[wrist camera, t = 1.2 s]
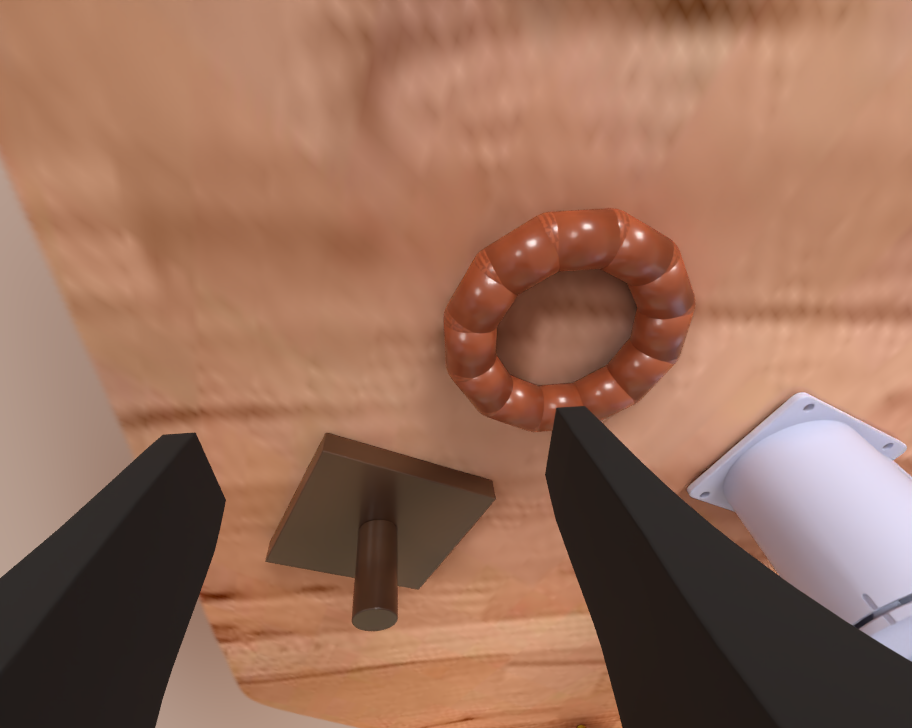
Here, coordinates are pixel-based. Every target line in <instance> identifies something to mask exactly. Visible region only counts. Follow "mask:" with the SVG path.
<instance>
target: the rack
mask: <svg viewBox="0 0 912 728" xmlns="http://www.w3.org/2000/svg"><path fill="white" fill-rule="evenodd" d="M495 499H496V496H495V492H494V487H493V482H492V481H491V480H488V479H484V478H481V477H477V476H474V475H470V474H467V473H464V472H460V471H457V470H453V469H450V468H446V467H443V466H439V465H436V464H433V463H429V462H426V461H422V460H419V459H415V458H412V457H408V456H405V455H402V454H398V453H395V452H391V451H388V450H384V449H381V448H377V447H374V446H371V445H367V444H364V443H360V442H357V441H353V440H350V439H346V438H343V437H340V436H336V435H333V434H329V433H326V434H325V435H324V437H323V439H322V441H321V443H320V445H319V447H318V449H317V451H316V453H315V455H314V457H313V459H312V461H311V463H310V465H309V467H308V469H307V471H306V473H305V475H304V477H303V479H302V481H301V483H300V484H299V486H298V488H297V490H296V492H295V494H294V496H293V498H292V500H291V502H290V504H289V506H288V508H287V510H286V512H285V514H284V516H283V518H282V520H281V522H280V524H279V526H278V528H277V530H276V532H275V533H274V535H273V537H272V539H271V541H270V544H269V548H268V552H267V556H266V562H269V563H275V564H280V565H286V566H291V567H297V568H302V569H308V570H313V571H319V572H324V573H330V574H335V575H341V576H346V577H352V578H355V582H354V596H353V609H352V624H353V625H354V626H355V627H356V628H358V629H361V630H364V631H380V630H384V629H387V628H390V627H392V626H393V625H394V624H395V623H396V622H397V619H398V586H401V587H407V588H412V589H420V587H421V586H422V585H423V584H424V583H425V582H426V580H427V579H428V578H429V577H430V576H431V574H432V573H433V572H434V571H435V570H436V569H437V567H438V566H439V565H440V564H441V563H442V562H443V560H444V559H445V558H446V557H447V556H448V555H449V553H450V552H451V551H452V550H453V549H454V547H455V546H456V545H457V544H458V543H459V542H460V540H461V539H462V538H463V537H464V536H465V535H466V533H467V532H468V531H469V530H470V529H471V528H472V526H473V525H474V524H475V523H476V522H477V521H478V519H479V518H480V517H481V516H482V515H483V513H484V512H485V511H486V510H487V509H488V508H489V506H490V505H491V504H492V503H493V502H494V501H495Z"/></svg>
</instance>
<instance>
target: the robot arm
mask: <svg viewBox="0 0 912 728" xmlns="http://www.w3.org/2000/svg"><path fill="white" fill-rule="evenodd" d="M906 449H907V446H906V445H905V444H904V443H903V442H901V441H900V440H898V439H896V438H894V437H892V436H890V435H888V434H886V433H884V432H882V431H880V430H878V429H876V428H874V427H872V426H870V425H868V424H866V423H864V422H862V421H860V420H858V419H857V418H855V417H853V416H851V415H849V414H847V413H845V412H843V411H841V410H839V409H837V408H835V407H833V406H831V405H829V404H827V403H825V402H823V401H821V400H819V399H817V398H815V397H813V396H811V395H809V394H807V393H805V392H801V393H797V394H794V395H793V396H791V397H790V398H789V399H788V400H787V401H786V402H785V403H783V404H782V405H781V406H780V407H779V408H778V409H776V410H775V411H774V412H773V413H772V414H771V415H770V416H768V417H767V418H766V419H765V420H764V421H763V422H762V423H760V424H759V425H758V426H757V427H756V428H755V429H753V430H752V431H751V432H750V433H749V434H748V435H747V436H745V437H744V438H743V439H742V440H741V441H740V442H739V443H737V444H736V445H735V446H734V447H733V448H732V449H730V450H729V451H728V452H727V453H726V454H725V455H724V456H722V457H721V458H720V459H719V460H718V461H717V462H716V463H714V464H713V465H712V466H711V467H710V468H709V469H707V470H706V471H705V472H704V473H703V474H702V475H701V476H699V477H698V478H697V479H696V480H695V481H694V482H692V483H691V484H690V485H689V486H688V488H687V492H688V494H689V495H690V497H692V498H695V499H698V500H701V501H704V502H707V503H710V504H713V505H716V506H719V507H722V508H725V509H728V510H731V511H734V512H736V514H737V515H738V517H739V518H740V520H741V521H742V522H743V524H744V525H745V527H746V528H747V530H748V531H749V533H750V534H751V535H752V537H753V538H754V540H755V541H756V543H757V544H758V545H759V547H760V548H761V550H762V551H763V553H764V554H765V556H766V557H767V558H768V560H769V561H770V563H771V564H772V566H773V567H774V569H775V570H776V571H777V573H778V574H779V576H778V575H777V574H776V573H774V572H773V571H771V570H770V569H769V568H767V567H766V566H765V565H763V564H762V563H761V562H759V561H758V560H757V559H755V558H754V557H753V556H751V555H750V554H749V553H747V552H746V551H745V550H743V549H742V548H741V547H739V546H738V545H737V544H735V543H734V542H733V541H731V540H730V539H729V538H728V537H726V536H725V535H724V534H723V533H721V532H720V531H719V530H718V529H716V528H715V527H714V526H713V525H711V524H710V523H709V522H708V521H707V520H706V519H704V518H703V517H702V516H701V515H700V514H698V513H697V512H696V511H695V510H694V509H693V508H691V507H690V506H689V505H688V504H687V503H685V502H684V501H683V500H682V499H681V498H680V497H679V496H678V495H676V494H675V493H674V492H673V491H672V490H671V489H670V488H669V487H668V486H667V485H665V484H664V483H663V482H662V481H661V480H660V479H659V478H658V477H657V476H656V475H655V474H654V473H653V472H652V471H650V470H649V469H648V468H647V467H646V466H645V465H644V464H643V463H642V462H641V461H640V460H639V459H638V458H637V457H636V456H635V455H634V454H633V453H632V452H631V451H630V450H629V449H628V448H627V447H626V446H625V445H624V444H623V443H622V442H621V441H620V440H619V439H618V438H617V437H616V436H615V435H614V434H613V433H612V432H611V431H610V430H609V429H608V428H607V427H606V426H605V425H604V424H603V423H602V422H601V421H600V420H599V419H598V418H597V417H596V416H595V415H594V414H593V413H592V412H591V411H590V410H589V409H588V408H587V407H586V406H574V407H559V408H556V412H555V418H554V424H553V430H552V436H551V442H550V448H549V454H548V460H547V467H546V473H545V476H546V480H547V484H548V489H549V493H550V498H551V502H552V506H553V510H554V514H555V518H556V521H557V524H558V527H559V530H560V533H561V535H562V538H563V541H564V544H565V547H566V549H567V552H568V555H569V558H570V560H571V563H572V566H573V569H574V571H575V574H576V577H577V579H578V582H579V585H580V588H581V590H582V593H583V596H584V599H585V601H586V604H587V607H588V609H589V612H590V615H591V618H592V620H593V623H594V626H595V629H596V632H597V635H598V638H599V642H600V645H601V648H602V651H603V655H604V659H605V662H606V666H607V670H608V674H609V677H610V681H611V685H612V689H613V692H614V696H615V700H616V704H617V707H618V711H619V715H620V719H621V723H622V727H623V728H912V477H911V476H910V475H909V474H908V473H907V472H906V471H905V470H903V469H902V468H901V467H900V466H899V465H898V464H897V463H895V462H894V461H893V460H894V459H896V458H897V457H899V456H900V455H901V454H903V453H904V452H905V451H906ZM225 502H226V499H225V497H224V495H223V493H222V491H221V488H220V486H219V484H218V482H217V479H216V477H215V475H214V473H213V471H212V468H211V466H210V464H209V462H208V459H207V457H206V455H205V453H204V451H203V448H202V446H201V444H200V442H199V439H198V437H197V435H196V433H183V434H168V435H162V436H161V437H160V438H159V439H158V440H156V441H155V442H154V443H153V444H152V445H151V446H149V447H148V448H147V449H146V450H145V451H144V452H143V453H142V454H141V455H139V456H138V457H137V458H136V459H135V460H134V461H133V462H132V463H131V464H130V465H129V466H128V467H126V468H125V469H124V470H123V471H122V472H121V473H120V474H119V475H118V476H117V477H116V478H115V479H113V480H112V481H111V482H110V483H109V484H108V485H107V486H106V487H105V488H104V489H102V490H101V491H100V492H99V493H98V494H97V495H96V496H95V497H94V498H92V499H91V500H90V501H89V502H88V503H87V504H86V505H85V506H84V507H82V508H81V509H80V510H79V511H78V512H77V513H76V514H75V515H74V516H72V517H71V518H70V519H69V520H68V521H67V522H66V523H65V524H64V525H62V526H61V527H60V528H59V529H58V530H57V531H56V532H54V533H53V534H52V535H51V536H50V537H49V538H47V539H46V540H45V541H44V542H43V543H42V544H40V545H39V546H38V547H37V548H35V549H34V550H33V551H32V552H31V553H30V554H28V555H27V556H26V557H25V558H24V559H23V560H21V561H20V562H19V563H18V564H17V565H15V566H14V567H13V568H12V569H11V570H9V571H8V572H7V573H6V574H5V575H4V576H2V577H1V578H0V728H155V726H156V722H157V718H158V715H159V711H160V707H161V703H162V699H163V696H164V693H165V690H166V687H167V683H168V680H169V677H170V674H171V671H172V668H173V665H174V663H175V660H176V657H177V654H178V652H179V648H180V646H181V643H182V641H183V638H184V635H185V632H186V629H187V627H188V624H189V621H190V619H191V616H192V613H193V610H194V607H195V605H196V602H197V599H198V597H199V594H200V591H201V588H202V585H203V583H204V580H205V577H206V574H207V571H208V569H209V566H210V563H211V560H212V557H213V554H214V551H215V548H216V543H217V539H218V535H219V531H220V526H221V521H222V517H223V512H224V507H225Z"/></svg>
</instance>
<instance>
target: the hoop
mask: <svg viewBox="0 0 912 728" xmlns="http://www.w3.org/2000/svg"><path fill="white" fill-rule="evenodd" d="M588 269H601V270H603V271H605V272H607V273H609V274H611V275H613V276H614V277H616V278H618V279H620V280H622V281H624V282H626V283H627V284H628V287H629V289H630V291H631V294H632V296H633V298H634V301H635V303H636V305H637V311H636V315H635V320H634V324H633V328H632V333H631V337H630V338H629V340H628V341H627V342H626V343H625V344H624V346H623V347H622V348H621V349H620V350H619V351H618V353H617V354H616V355H615V356H614V357H613V359H612V360H611V361H610V362H609V363H608V364H607V365H606V366H604V367H602V368H600V369H599V370H597V371H595V372H593V373H591V374H589V375H587V376H585V377H583V378H581V379H579V380H577V381H575V382H573V383H564V384H552V385H541V386H537V385H534V384H532V383H529V382H527V381H524V380H522V379H519V378H516V377H514V376H511V375H510V374H509V373H508V371H507V370H506V368H505V367H504V366H503V364H502V363H501V361H500V360H499V358H498V357H497V356H496V342H497V326H498V325H499V323H500V322H501V320H502V319H503V317H504V316H505V314H506V313H507V311H508V309H509V308H510V306H511V305H512V303H513V302H514V300H515V299H516V297H517V296H518V295H519V294H520V293H522V292H524V291H525V290H527V289H529V288H531V287H532V286H534V285H536V284H538V283H539V282H541V281H543V280H544V279H546V278H548V277H550V276H551V275H553V274H555V273H557V272H559V271H574V270H588ZM694 309H695V296H694V293H693V290H692V287H691V284H690V281H689V278H688V275H687V272H686V269H685V266H684V263H683V260H682V257H681V253H680V251H679V249H678V247H677V245H676V244H675V243H674V242H673V241H672V240H671V239H669V238H668V237H666V236H664V235H663V234H661V233H659V232H658V231H656V230H654V229H653V228H651V227H649V226H648V225H646V224H644V223H643V222H641V221H639V220H638V219H636V218H634V217H632V216H631V215H629V214H627V213H626V212H624V211H622V210H619V209H613V208H608V209H591V210H575V211H559V212H546V213H543V214H540V215H538V216H536V217H534V218H533V219H531V220H529V221H528V222H526V223H525V224H523V225H521V226H520V227H518V228H517V229H515V230H513V231H512V232H510V233H508V234H507V235H505V236H504V237H502V238H500V239H499V240H497V241H495V242H494V243H492V244H491V245H489V246H487V247H486V248H484V249H483V250H481V251H480V252H479V253H478V254H477V255H476V257H475V258H474V260H473V262H472V264H471V265H470V267H469V269H468V270H467V272H466V274H465V276H464V277H463V279H462V281H461V282H460V284H459V286H458V288H457V289H456V291H455V293H454V294H453V296H452V298H451V300H450V301H449V303H448V305H447V307H446V309H445V312H444V336H445V356H446V368H447V372H448V374H449V376H450V377H451V379H452V380H453V381H454V382H455V383H456V385H457V386H458V387H459V388H460V390H461V391H462V392H463V393H464V394H465V396H466V397H467V398H468V399H469V401H470V402H471V403H472V404H473V405H474V407H475V408H476V409H477V410H478V411H479V412H480V413H481V414H482V415H484V416H486V417H489V418H492V419H495V420H498V421H501V422H503V423H506V424H509V425H512V426H515V427H518V428H521V429H524V430H527V431H531V432H541V431H552V430H553V424H554V418H555V412H556V408H559V407H574V406H586V407H587V408H588V409H589V410H590V411H591V412H592V413H593V414H594V415H595V416H596V417H597V418H598V419H599V420H600V421H601V420H603V419H605V418H607V417H609V416H611V415H613V414H615V413H617V412H619V411H621V410H624V409H626V408H628V407H630V406H632V405H634V404H636V403H637V402H639V401H640V400H641V399H642V398H643V397H644V396H645V395H646V394H647V393H648V392H649V391H650V390H651V389H652V387H653V386H654V385H655V384H656V383H657V382H658V381H659V380H660V379H661V378H662V377H663V376H664V375H665V374H666V373H667V371H668V370H669V369H670V368H671V367H672V366H673V365H674V364H675V363H676V362H677V360H678V358H679V356H680V354H681V351H682V348H683V344H684V341H685V338H686V335H687V332H688V328H689V325H690V322H691V319H692V315H693V312H694Z"/></svg>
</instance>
